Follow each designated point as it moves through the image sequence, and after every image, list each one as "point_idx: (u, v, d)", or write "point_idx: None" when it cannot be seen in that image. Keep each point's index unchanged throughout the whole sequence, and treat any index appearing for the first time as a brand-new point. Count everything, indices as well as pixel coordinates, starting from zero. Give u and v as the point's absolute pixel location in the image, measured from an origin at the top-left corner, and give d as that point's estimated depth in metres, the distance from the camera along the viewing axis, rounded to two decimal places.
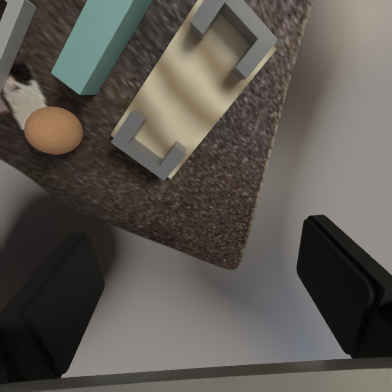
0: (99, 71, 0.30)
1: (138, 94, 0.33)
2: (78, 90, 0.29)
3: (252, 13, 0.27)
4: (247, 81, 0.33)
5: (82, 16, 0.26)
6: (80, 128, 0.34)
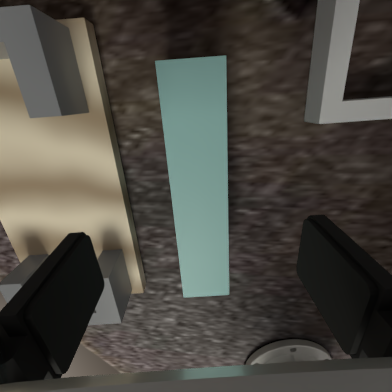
0: None
1: (107, 136, 0.18)
2: (162, 68, 0.13)
3: None
4: (22, 260, 0.23)
5: (223, 186, 0.16)
6: None
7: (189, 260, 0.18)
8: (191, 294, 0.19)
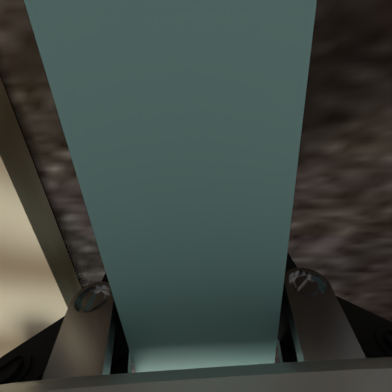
0: None
1: None
2: None
3: None
4: None
5: (268, 315, 0.06)
6: None
7: None
8: None
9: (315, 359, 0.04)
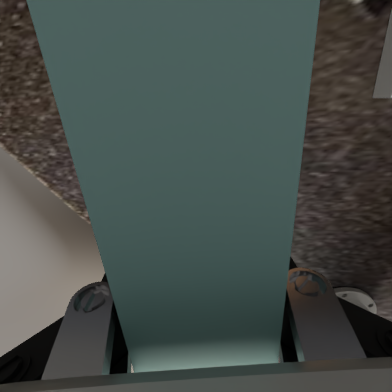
0: None
1: None
2: None
3: None
4: None
5: (271, 325, 0.06)
6: None
7: None
8: None
9: (316, 359, 0.04)
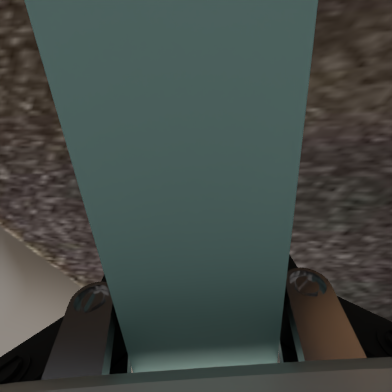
0: None
1: None
2: None
3: None
4: None
5: (270, 324, 0.06)
6: None
7: None
8: None
9: (316, 359, 0.04)
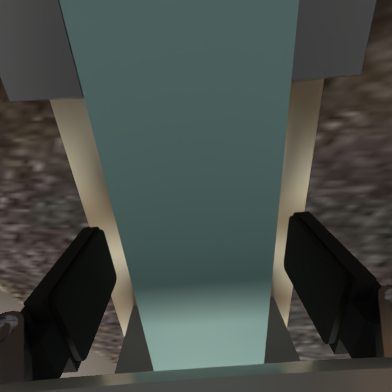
0: None
1: (313, 124, 0.10)
2: None
3: None
4: (121, 312, 0.15)
5: (261, 295, 0.07)
6: None
7: None
8: None
9: None
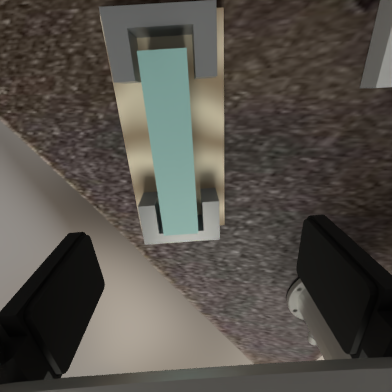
0: None
1: (222, 96, 0.25)
2: (142, 56, 0.18)
3: (178, 241, 0.28)
4: (137, 196, 0.30)
5: (189, 144, 0.21)
6: None
7: (167, 205, 0.24)
8: (169, 233, 0.25)
9: None
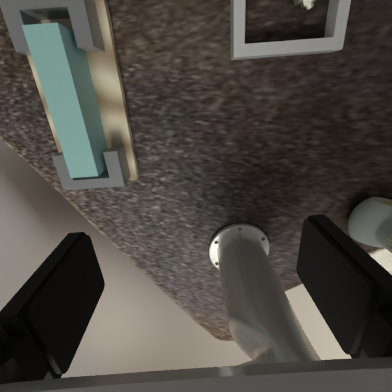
0: None
1: (115, 66, 0.32)
2: (26, 29, 0.25)
3: (90, 187, 0.35)
4: None
5: (75, 99, 0.28)
6: None
7: (68, 150, 0.31)
8: (75, 175, 0.32)
9: None
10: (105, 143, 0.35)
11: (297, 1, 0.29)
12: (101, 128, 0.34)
